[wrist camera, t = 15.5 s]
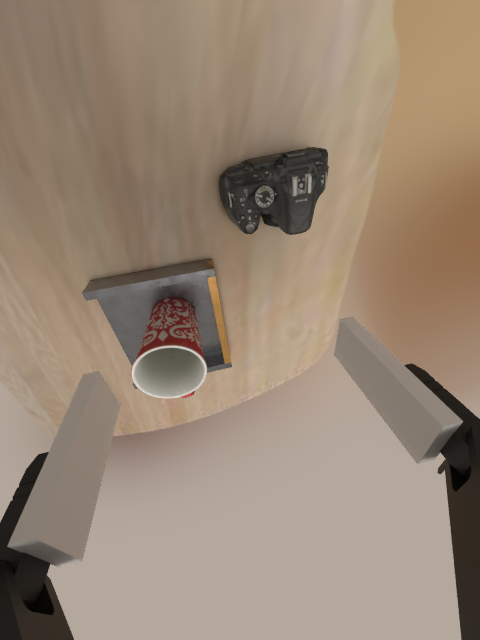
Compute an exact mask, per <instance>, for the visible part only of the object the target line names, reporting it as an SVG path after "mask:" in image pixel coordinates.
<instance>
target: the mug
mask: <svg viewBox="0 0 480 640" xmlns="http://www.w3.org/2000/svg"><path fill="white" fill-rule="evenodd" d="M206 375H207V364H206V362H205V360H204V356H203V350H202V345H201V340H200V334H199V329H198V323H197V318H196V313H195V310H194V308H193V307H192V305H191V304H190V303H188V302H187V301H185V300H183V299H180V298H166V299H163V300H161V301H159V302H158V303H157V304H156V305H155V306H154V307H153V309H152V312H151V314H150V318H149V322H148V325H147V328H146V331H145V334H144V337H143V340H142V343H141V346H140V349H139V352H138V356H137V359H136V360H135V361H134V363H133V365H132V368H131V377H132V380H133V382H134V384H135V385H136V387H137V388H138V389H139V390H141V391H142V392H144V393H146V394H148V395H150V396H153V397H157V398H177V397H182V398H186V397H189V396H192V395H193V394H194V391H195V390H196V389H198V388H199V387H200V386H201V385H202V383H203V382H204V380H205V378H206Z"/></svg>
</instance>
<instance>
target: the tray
mask: <svg viewBox="0 0 480 640" xmlns="http://www.w3.org/2000/svg"><path fill="white" fill-rule="evenodd" d="M82 294H83V296H84V298H85V299H86V301H87V300H92V299H97V300H98V302H99V304H100V306H101V308H102V309H103V311H104V313H105V315H106V317H107V319H108V321H109V323H110V325H111V327H112V328H113V330H114V332H115V334H116V336H117V338H118V340H119V342H120V344H121V346H122V348H123V349H124V351H125V353H126V355H127V357H128V359H129V361H130V363H131V365H133V363H134V361H135V360H136V359H137V356H138V352H139V349H140V346H141V343H142V340H143V337H144V334H145V331H146V328H147V325H148V322H149V318H150V314H151V312H152V309H153V307H154V306H155V305H156V304H157V303H158V302H159V301H161V300H163V299H166V298H180V299H183V300H185V301H187V302H188V303H190V304H191V305H192V307H193V308H194V310H195V313H196V318H197V323H198V329H199V334H200V340H201V345H202V350H203V356H204V360H205V362H206V364H207V372H212V371H216V370H221V369H225V368H230V367H232V364H231V359H230V353H229V348H228V342H227V337H226V331H225V326H224V320H223V315H222V310H221V304H220V299H219V293H218V288H217V282H216V277H215V271H214V267H213V263H212V260H211V259H208V260H202V261H196V262H191V263H185V264H180V265H174V266H168V267H163V268H157V269H152V270H146V271H140V272H135V273H129V274H124V275H118V276H113V277H107V278H101V279H96V280H91V281H90V282H89V284H88V285H87V287H86V288H85V289H84V291H83V292H82ZM133 385H134V387H135V389H136V388H137V387H136V385H135V384H134V382H133Z"/></svg>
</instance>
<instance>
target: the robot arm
mask: <svg viewBox="0 0 480 640" xmlns="http://www.w3.org/2000/svg"><path fill="white" fill-rule="evenodd" d="M334 355H335V356H336V358H337V359H338V360H339V361H340V363H341V364H342V366H343V367H344V368H345V369H346V371H347V372H348V374H349V375H350V376H351V377H352V379H353V380H354V381H355V383H356V384H357V385H358V387H359V388H360V389H361V391H362V392H363V393H364V394H365V396H366V397H367V398H368V400H369V401H370V402H371V404H372V405H373V406H374V408H375V409H376V410H377V412H378V413H379V414H380V416H381V417H382V418H383V419H384V421H385V422H386V423H387V425H388V426H389V427H390V429H391V430H392V431H393V433H394V434H395V435H396V436H397V438H398V439H399V440H400V442H401V443H402V444H403V446H404V447H405V448H406V450H407V451H408V452H409V454H410V455H411V456H412V458H413V459H414V460H415V461H416V463H417V464H421V463H424V462H427V461H431V460H434V459H435V458H436V457H437V456H438V454H439V453H440V452H441V454H442V455H443V456H444V457H445V458H446V460H445V461H444V462H443V463H442V464H441V466H440V467H439V468H438V473H439V474H441V473H442V472H443V471H444V470H445V475H446V485H447V495H448V504H449V505H448V506H449V516H450V526H451V536H452V546H453V556H454V567H455V577H456V587H457V597H458V607H459V618H460V628H461V638H462V640H480V419H479V418H478V417H476V416H475V415H474V414H473V413H472V412H471V411H470V410H469V409H467V408H466V407H465V406H464V405H463V404H462V403H461V402H460V401H458V400H457V399H456V398H455V397H454V396H453V395H452V394H451V393H449V392H448V391H447V390H446V389H444V388H443V386H441V385H440V384H439V383H438V382H437V381H435V380H434V378H433V377H431V376H430V375H429V374H428V373H427V372H426V371H425V370H423V369H421V368H419V367H417V366H416V365H414V364H407V365H403V364H402V363H401V362H400V361H399V360H398V359H397V358H396V357H395V356H394V355H393V354H391V352H389V351H388V350H387V349H386V348H385V347H384V346H383V345H382V344H381V343H380V342H379V341H378V340H377V339H376V338H375V337H374V336H373V335H372V334H371V333H369V332H368V331H367V330H366V329H365V328H364V327H363V326H362V325H361V324H360V323H359V322H358V321H357V320H356V319H355V318H354V317H348V318H344V319H340V322H339V329H338V335H337V341H336V347H335V353H334ZM119 408H120V403H119V401H118V400H117V398H116V397H115V395H114V393H113V392H112V390H111V389H110V387H109V386H108V384H107V383H106V381H105V380H104V378H103V377H102V375H101V373H100V372H99V371H97V372H93V373H88V374H83V376H82V379H81V381H80V383H79V385H78V388H77V390H76V392H75V394H74V397H73V399H72V401H71V403H70V406H69V408H68V410H67V413H66V415H65V417H64V419H63V422H62V424H61V426H60V428H59V431H58V433H57V435H56V437H55V440H54V442H53V444H52V446H51V449H50V451H49V452H46V453H42V454H39V455H38V456H37V457H36V458H35V459H34V461H33V462H32V463H31V464H30V465H29V467H28V468H27V469H26V471H25V473H24V475H23V477H22V479H21V481H20V484H19V487H18V488H17V490H16V492H15V494H14V496H13V500H12V501H11V502H10V504H9V506H8V508H7V510H6V512H5V514H4V516H3V518H2V520H1V522H0V640H74V639H73V636H72V633H71V631H70V628H69V626H68V623H67V620H66V618H65V616H64V613H63V610H62V608H61V605H60V603H59V600H58V597H57V595H56V592H55V590H54V587H53V585H52V582H51V580H50V578H49V577H48V576H47V572H48V569H49V566H50V564H52V565H55V566H57V567H63V566H66V565H70V564H73V563H76V562H80V561H82V559H83V555H84V552H85V547H86V543H87V539H88V535H89V531H90V527H91V523H92V519H93V515H94V510H95V506H96V502H97V498H98V494H99V489H100V486H101V481H102V477H103V473H104V469H105V465H106V461H107V457H108V453H109V449H110V445H111V440H112V436H113V432H114V428H115V424H116V420H117V416H118V412H119Z"/></svg>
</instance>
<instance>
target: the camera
mask: <svg viewBox="0 0 480 640" xmlns="http://www.w3.org/2000/svg"><path fill="white" fill-rule="evenodd" d="M327 163H328V153H327V150H326V149H322V148H315V147H311V148H310V147H309V148H306V149H301V150H296V151H291V152H285V153H279V154H274V155H269V156H263V157H258V158H253V159H249V160H245V162H242V163H241V164H239V165H236V166H233V167H230V168H228V169H227V170H226V172H224V173H222V175H221V176H220V180H219V187H220V193H221V198H222V202H223V205H224V207H225V210H226V212H227V214H228V216H229V217H230V219H231V220H232V221H233V223H235V224H236V225H237V226H238V227H239V228H240V230H242V231H243V232H244V233H246V234H252V233H254V232H255V231H256V230H257V229H258V225H259V220H260V214H261V217H262V218H263V221H264V223H265V224H266V225H269V226H275V227H280V229H281V230H282V231H284V232H285V233H286V234H289V235H292V234H299V233H303V232H306V231H307V230H308V229H309V228H310V227H311V223H312V218H313V214H314V209H315V205H316V202H317V200H318V198H319V196H320V195H321V194H322V192H323V191H324V189H325V187H326V182H327V175H328V168H329V167H328V165H327Z"/></svg>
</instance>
